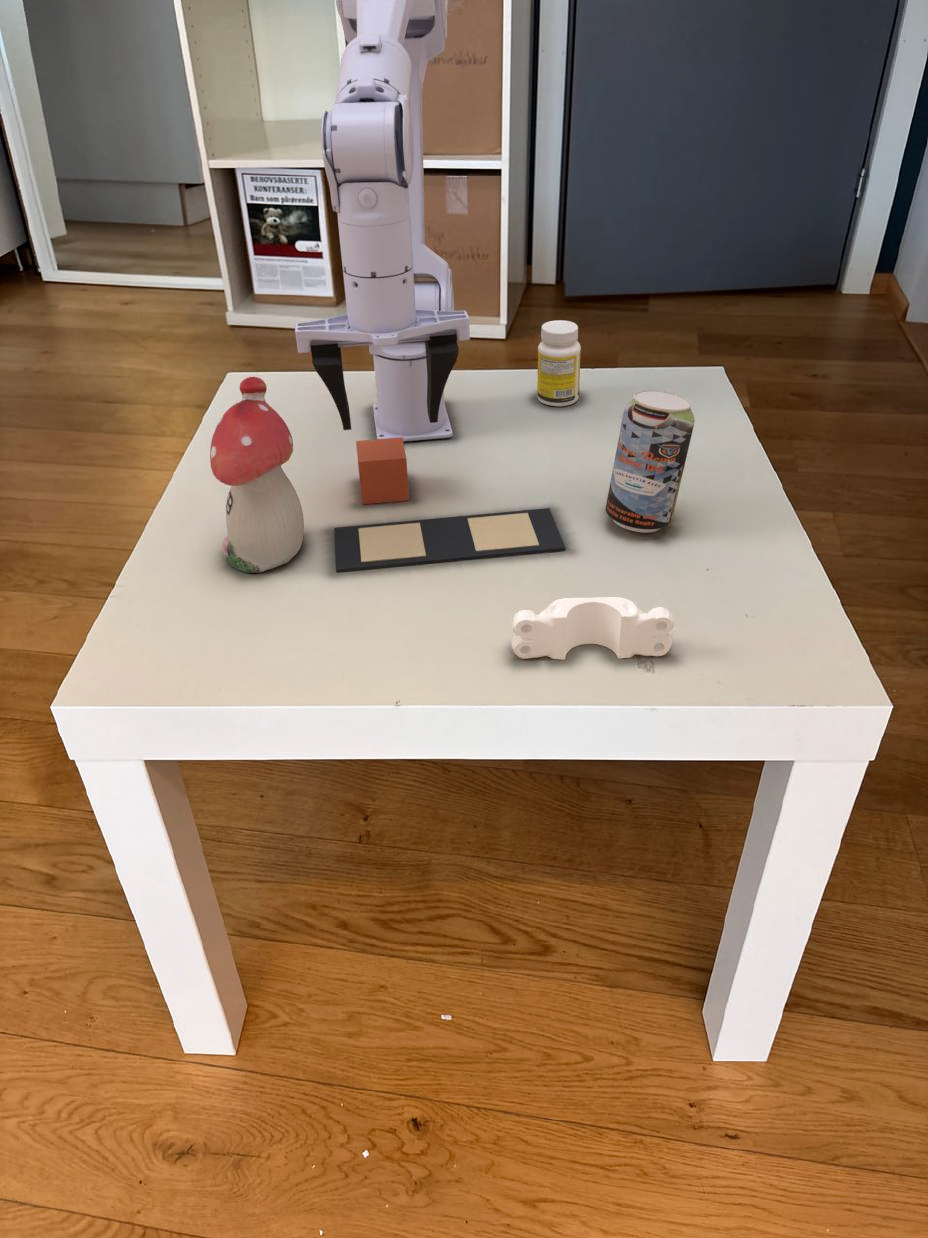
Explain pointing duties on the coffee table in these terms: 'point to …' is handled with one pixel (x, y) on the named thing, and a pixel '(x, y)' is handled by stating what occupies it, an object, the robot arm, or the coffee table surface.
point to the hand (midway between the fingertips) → (390, 421)
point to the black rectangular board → (446, 539)
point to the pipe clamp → (592, 628)
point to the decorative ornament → (256, 483)
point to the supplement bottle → (559, 363)
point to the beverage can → (650, 460)
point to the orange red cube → (382, 470)
